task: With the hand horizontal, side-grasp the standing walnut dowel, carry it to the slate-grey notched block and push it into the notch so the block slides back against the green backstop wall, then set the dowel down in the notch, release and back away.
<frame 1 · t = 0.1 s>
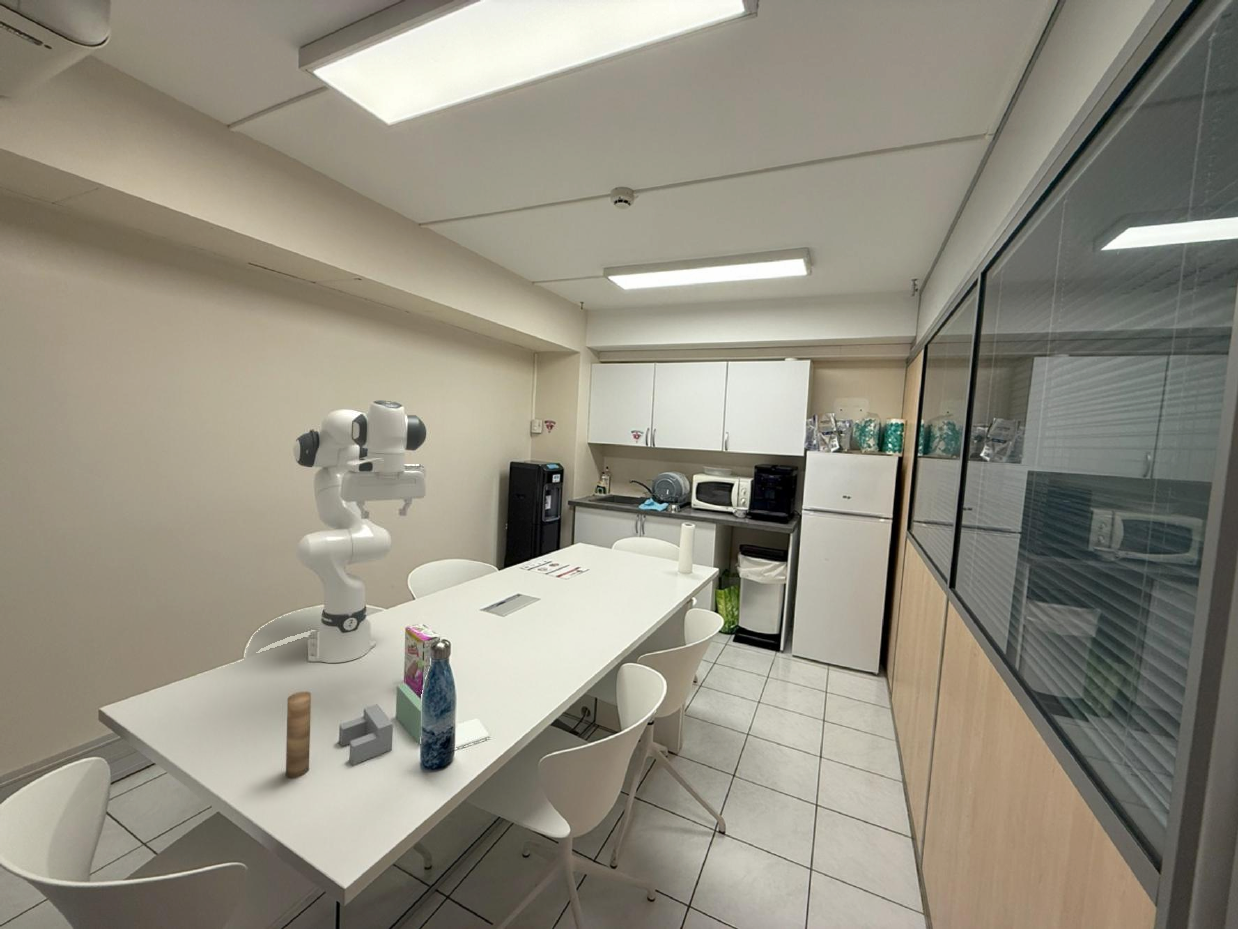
hand: (384, 517, 126), 48 cm above the table, tool pointing down, fingers open, 8 cm apart
candy bar box: (420, 689, 134), on the table
external hard drive: (457, 741, 114), on the table
wall: (411, 728, 117), on the table
block: (365, 732, 109), point 3 cm above the table, slide at 0.0 cm
dowel: (297, 771, 100), on the table
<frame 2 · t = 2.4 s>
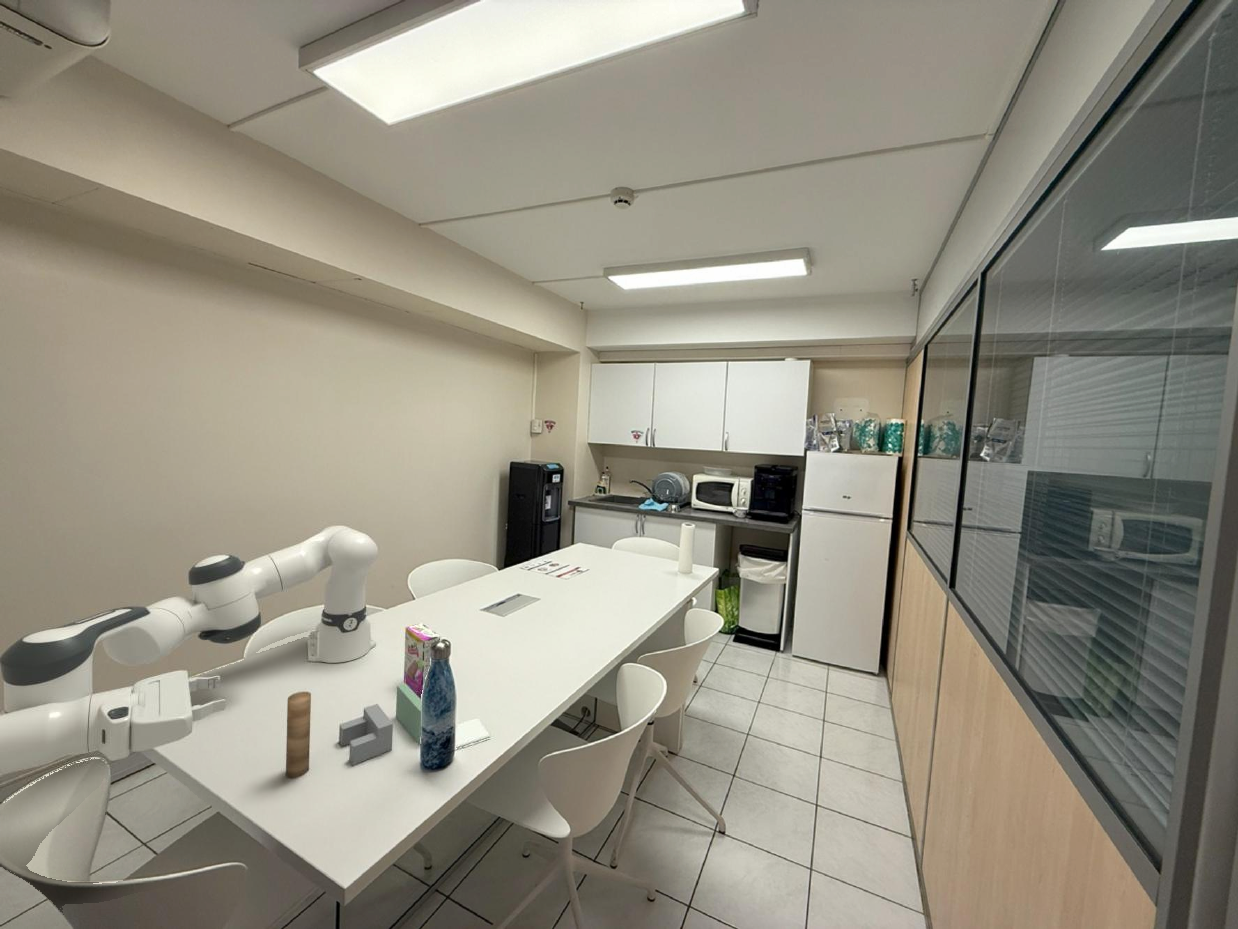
hand: (222, 691, 91), 21 cm above the table, tool horizontal, fingers open, 8 cm apart
nothing on the table moved.
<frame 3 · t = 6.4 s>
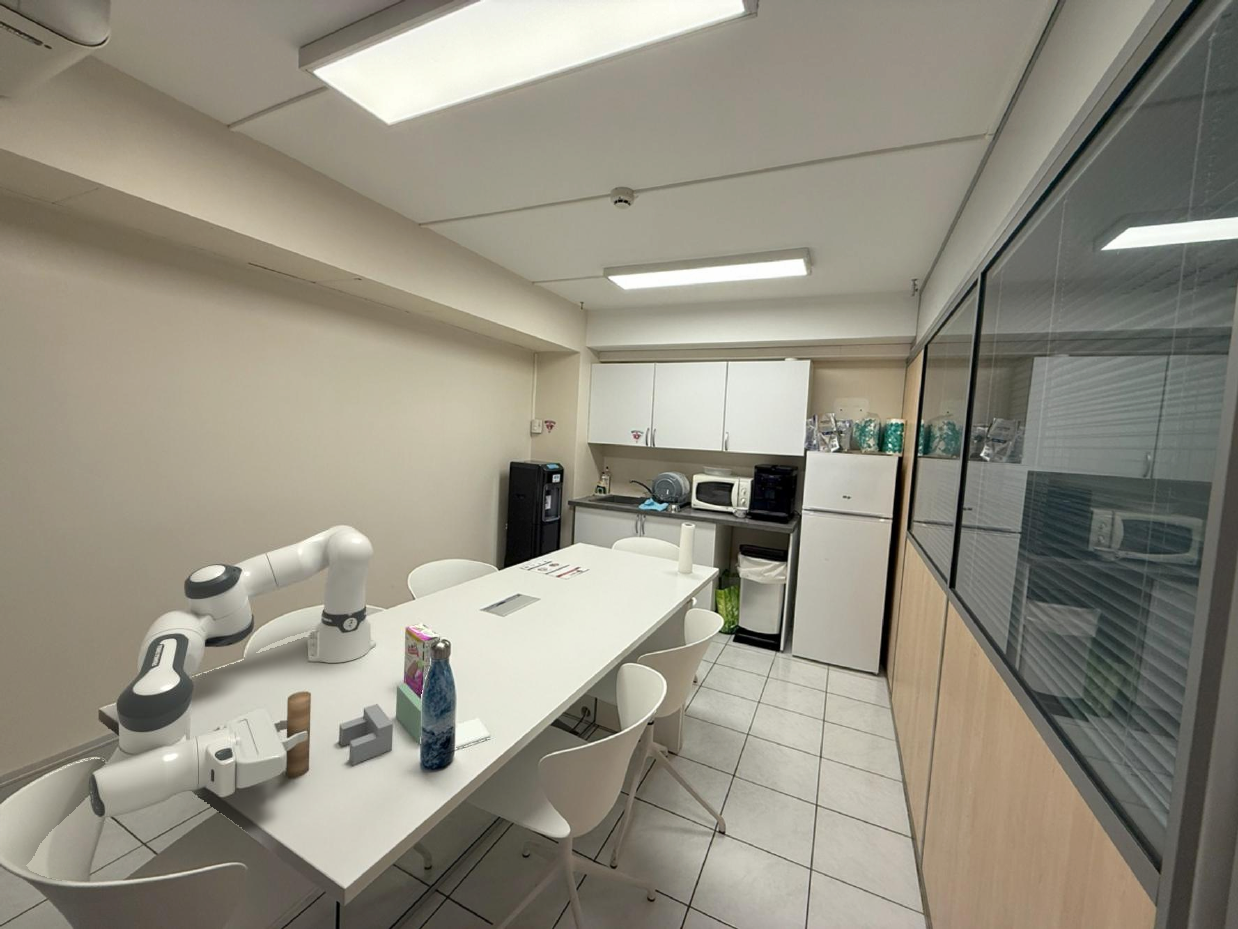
hand: (303, 727, 100), 9 cm above the table, tool horizontal, fingers closed on dowel, 4 cm apart
dowel: (297, 771, 100), on the table, touching gripper
everything else where it was.
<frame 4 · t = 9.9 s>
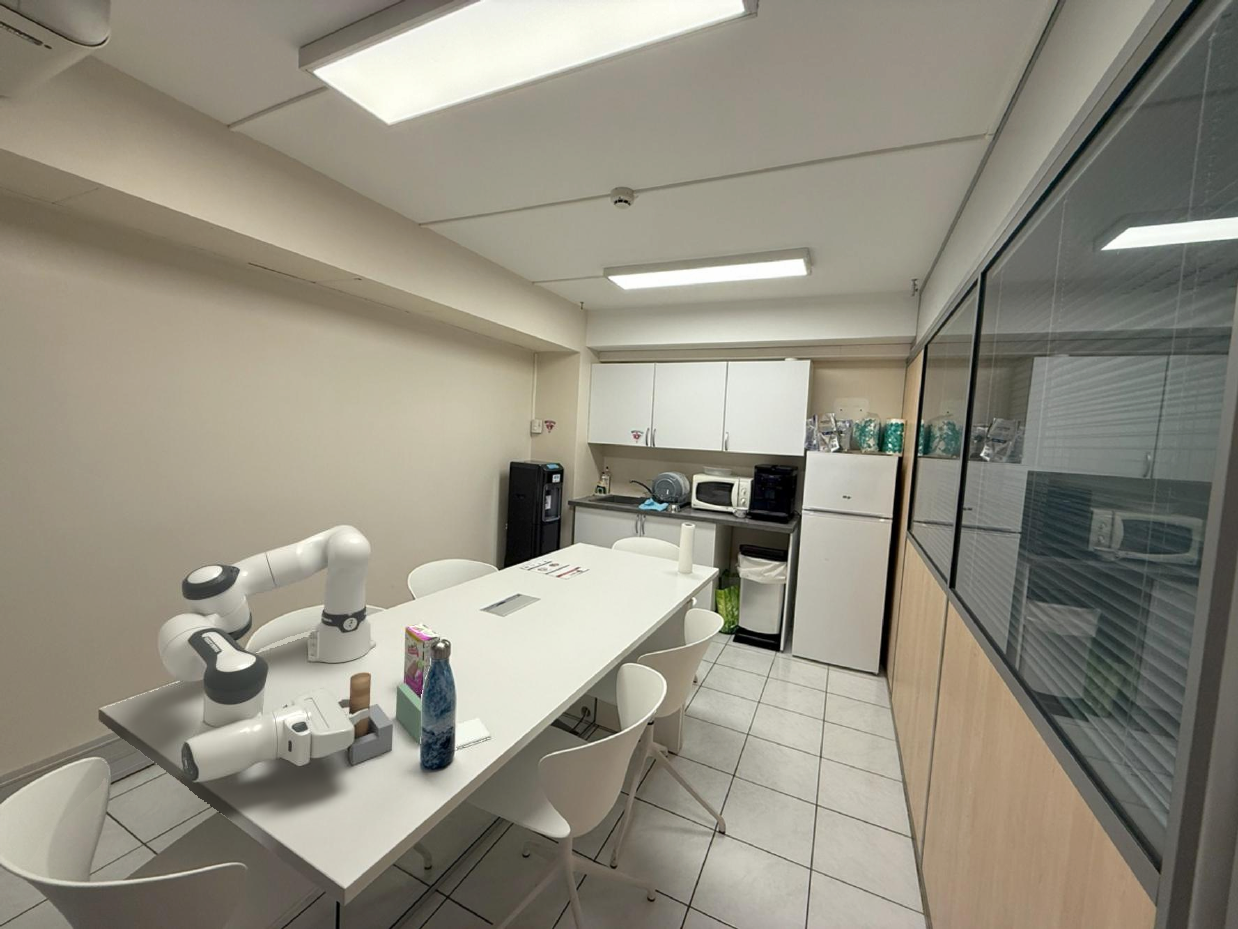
hand: (364, 706, 108), 10 cm above the table, tool horizontal, fingers closed on dowel, 4 cm apart
dowel: (358, 746, 108), point 1 cm above the table, touching gripper
everything else where it was.
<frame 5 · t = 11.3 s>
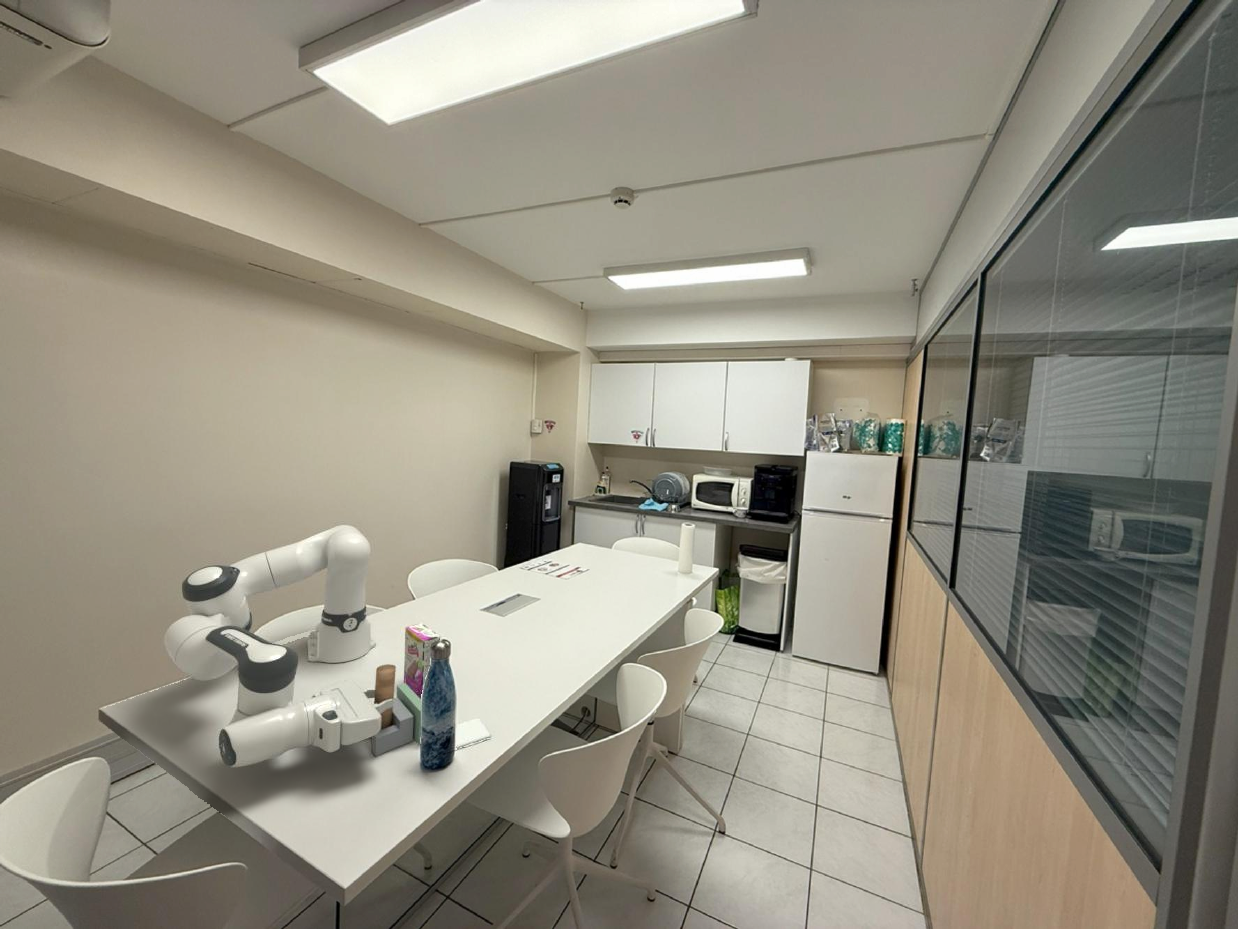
hand: (388, 696, 112), 10 cm above the table, tool horizontal, fingers closed on dowel, 4 cm apart
block: (386, 725, 112), point 3 cm above the table, slide at 4.5 cm, touching dowel
dowel: (381, 736, 112), point 1 cm above the table, touching block, gripper
everything else where it was.
when the fingers open (9 cm above the table, at t = 13.3 s): dowel stays where it is, on the table.
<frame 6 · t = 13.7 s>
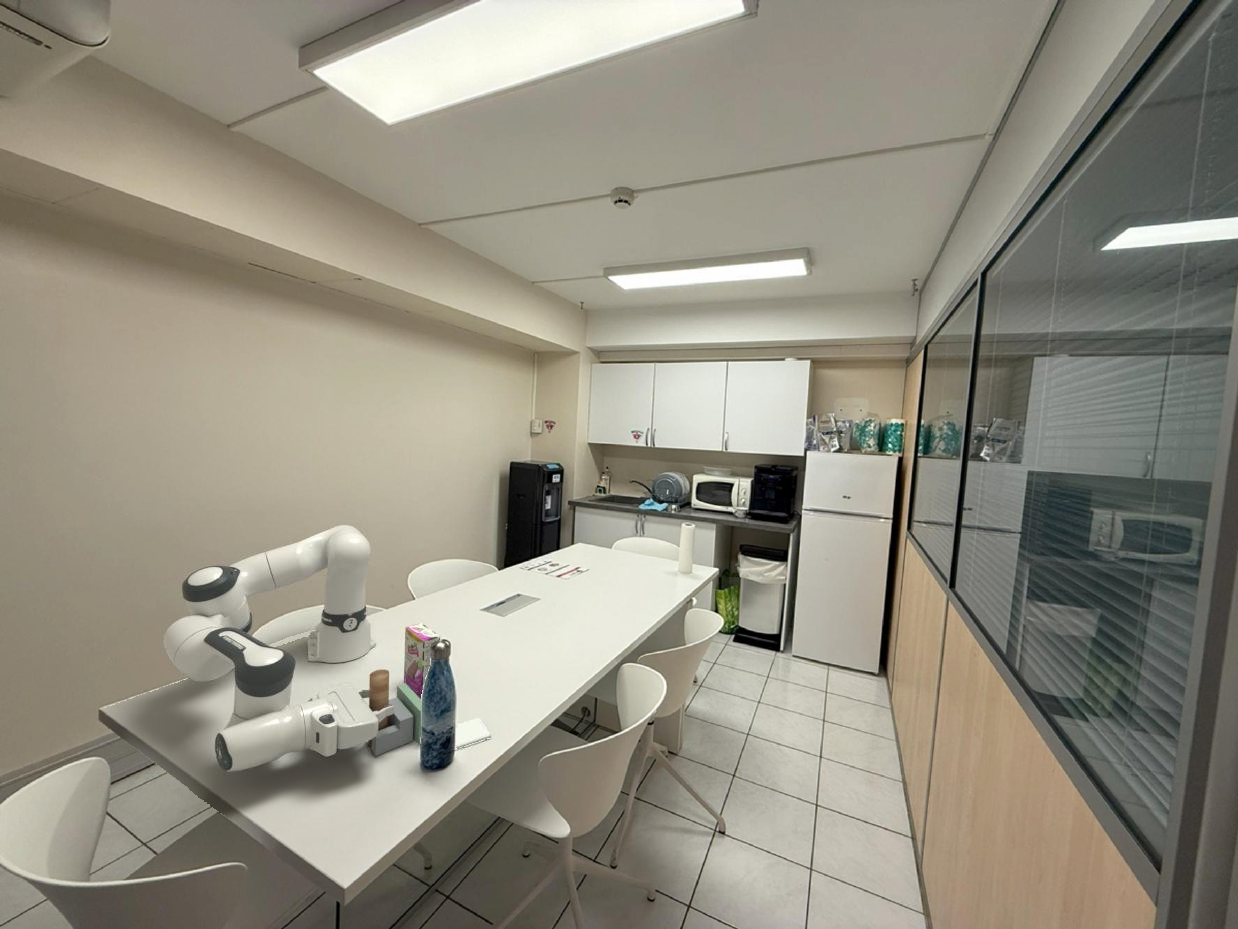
hand: (385, 699, 112), 9 cm above the table, tool horizontal, fingers open, 8 cm apart
block: (386, 725, 112), point 3 cm above the table, slide at 4.5 cm
dowel: (378, 740, 111), on the table
everything else where it was.
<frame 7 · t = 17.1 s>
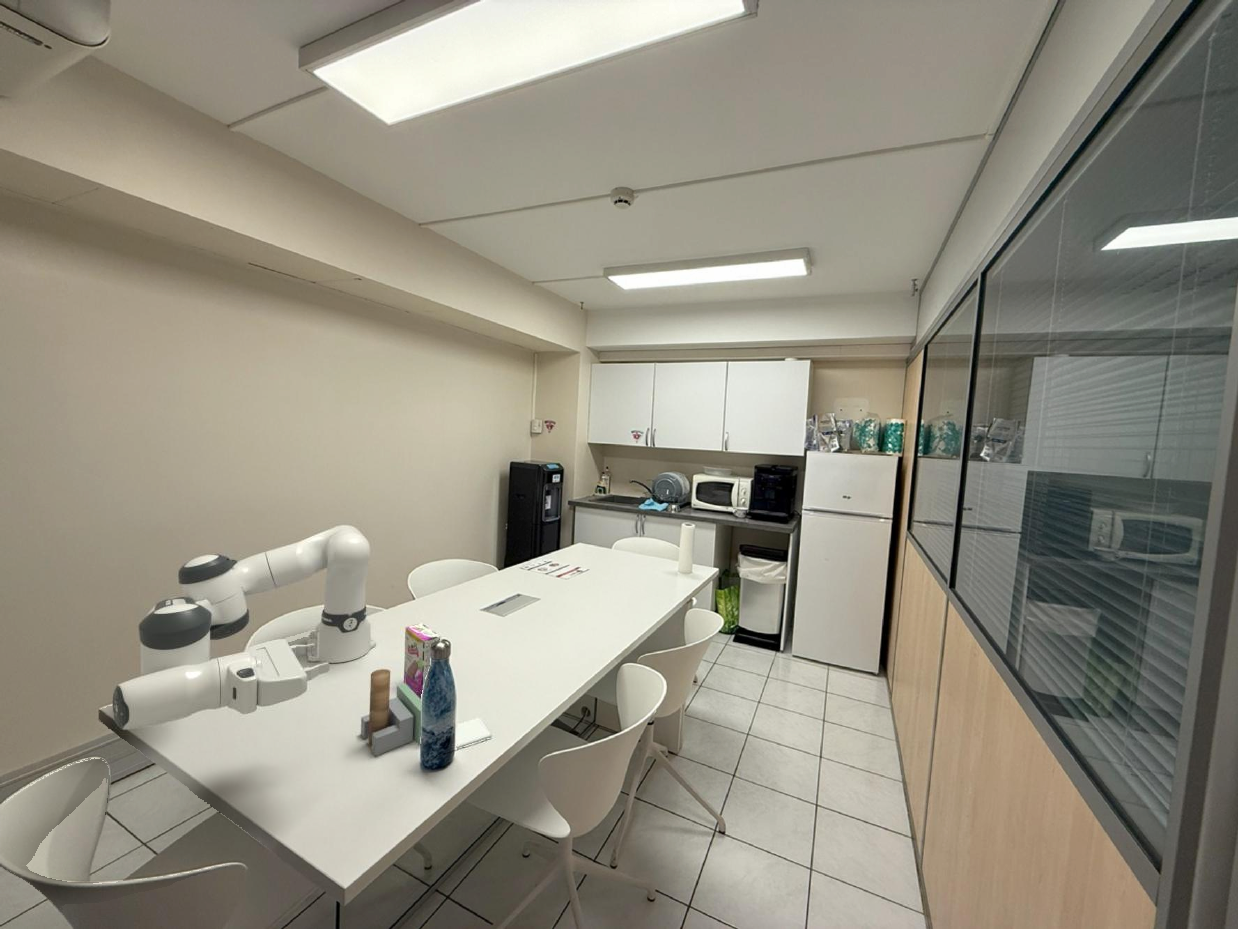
hand: (322, 656, 101), 24 cm above the table, tool horizontal, fingers open, 8 cm apart
nothing on the table moved.
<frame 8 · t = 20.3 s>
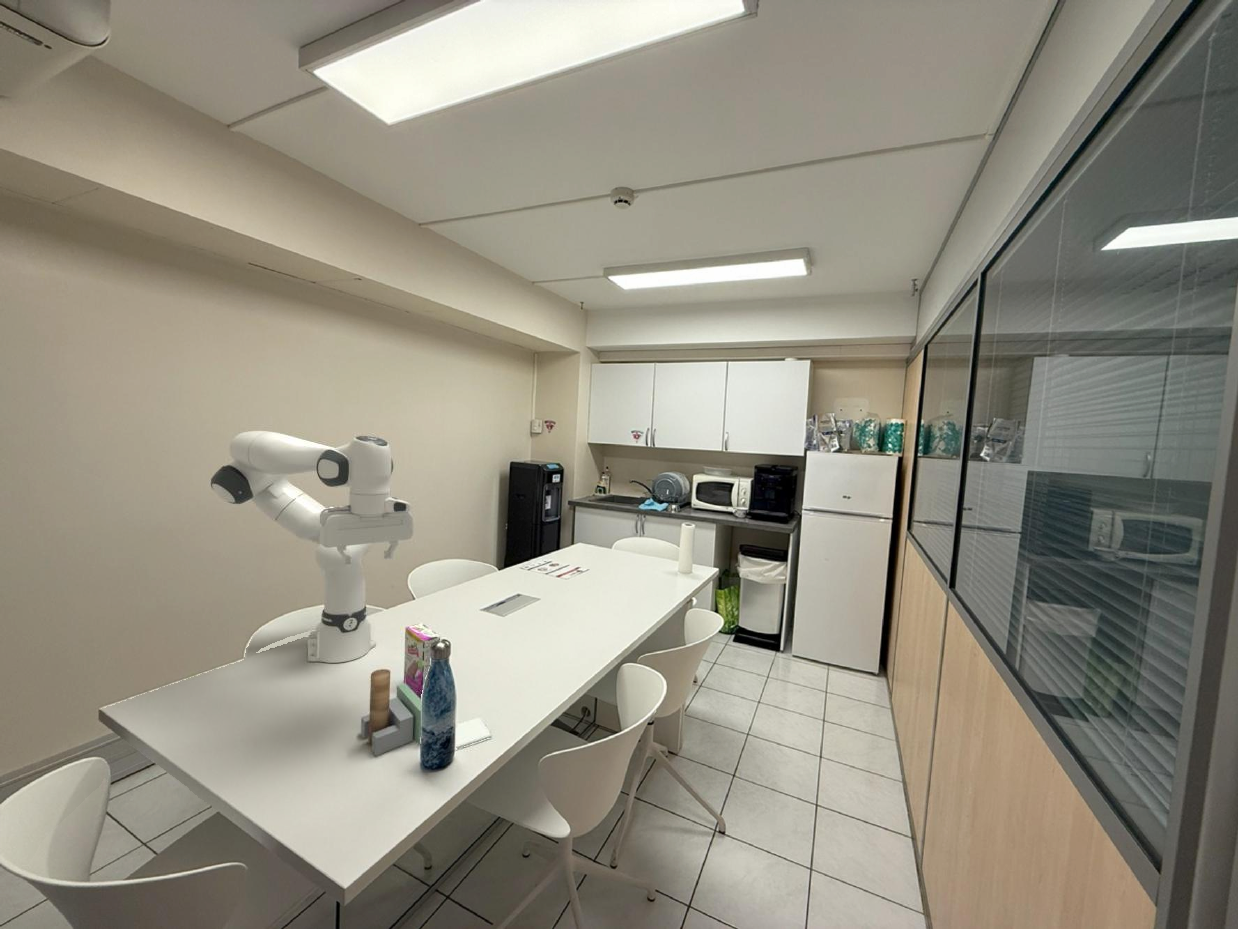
hand: (367, 561, 117), 39 cm above the table, tool pointing down, fingers open, 8 cm apart
nothing on the table moved.
at the end: dowel 0.1 cm from the target spot on the block, point 0.0 cm above the block's base; block slide at 4.5 cm; dowel tilted 0° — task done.
